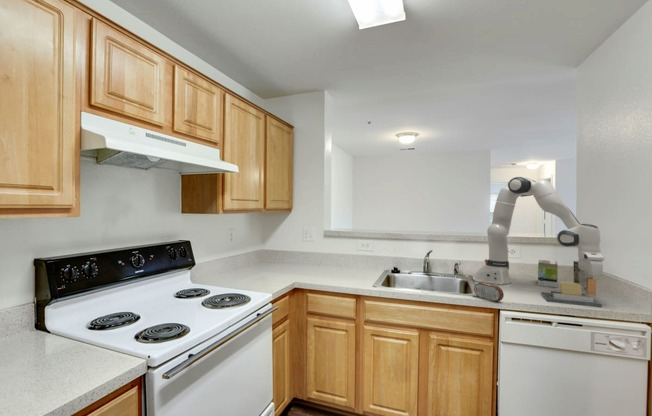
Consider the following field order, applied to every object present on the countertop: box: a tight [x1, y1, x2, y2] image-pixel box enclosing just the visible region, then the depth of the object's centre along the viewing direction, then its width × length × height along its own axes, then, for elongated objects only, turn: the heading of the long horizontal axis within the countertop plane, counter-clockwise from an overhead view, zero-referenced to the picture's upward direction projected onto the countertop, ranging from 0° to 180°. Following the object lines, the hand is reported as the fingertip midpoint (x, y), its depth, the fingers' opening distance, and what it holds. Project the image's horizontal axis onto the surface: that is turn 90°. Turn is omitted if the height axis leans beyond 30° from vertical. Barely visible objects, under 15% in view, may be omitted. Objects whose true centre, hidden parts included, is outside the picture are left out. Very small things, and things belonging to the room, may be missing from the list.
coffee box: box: [573, 260, 586, 292], centre depth 178 cm, size 9×6×16 cm
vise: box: [540, 291, 603, 308], centre depth 156 cm, size 22×14×4 cm, turn 66°
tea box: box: [537, 259, 559, 289], centre depth 190 cm, size 15×10×15 cm, turn 143°
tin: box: [473, 282, 504, 303], centre depth 158 cm, size 15×3×8 cm, turn 30°
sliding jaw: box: [548, 277, 597, 300], centre depth 157 cm, size 19×2×10 cm, turn 66°
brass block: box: [559, 281, 582, 295], centre depth 155 cm, size 4×8×8 cm, turn 66°
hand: (589, 281), depth 156 cm, fingers closed
